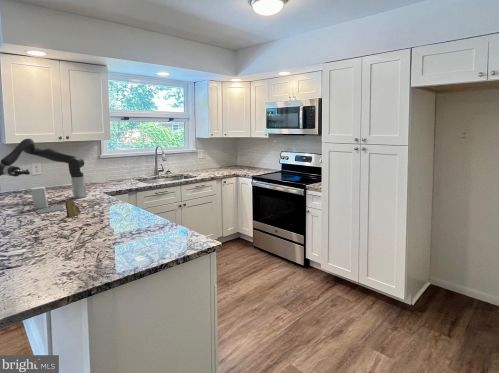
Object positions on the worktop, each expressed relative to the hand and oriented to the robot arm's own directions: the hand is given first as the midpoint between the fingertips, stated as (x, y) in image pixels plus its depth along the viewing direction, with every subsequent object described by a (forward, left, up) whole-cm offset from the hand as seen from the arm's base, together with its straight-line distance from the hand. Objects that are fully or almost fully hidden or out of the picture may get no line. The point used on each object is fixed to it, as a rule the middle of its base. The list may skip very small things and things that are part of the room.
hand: (28, 173), depth 241 cm
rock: (-16, +48, -25) cm, 56 cm away
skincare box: (-4, +8, -25) cm, 27 cm away
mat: (-7, +21, -25) cm, 33 cm away
